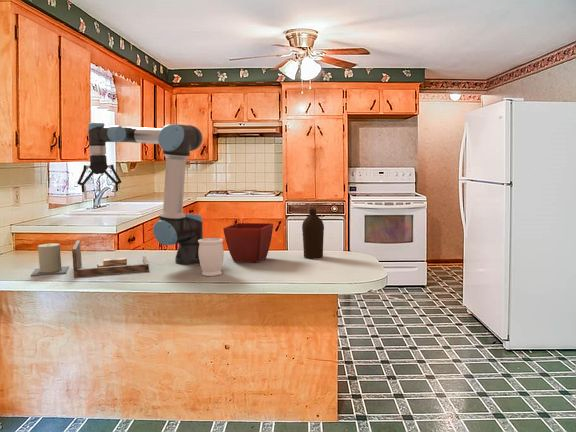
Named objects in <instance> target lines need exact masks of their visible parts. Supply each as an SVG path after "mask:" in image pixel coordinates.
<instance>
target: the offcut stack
mask: <svg viewBox="0 0 576 432" xmlns="http://www.w3.org/2000/svg"><path fill="white" fill-rule="evenodd" d="M102 262H103V263H97V264H96V268H98V267H111V266H124V265H128V258H127V257H117V258H116V257H115V258H104V259H103V261H102Z"/></svg>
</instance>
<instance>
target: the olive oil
mask: <svg viewBox="0 0 576 432" xmlns="http://www.w3.org/2000/svg"><path fill="white" fill-rule="evenodd" d="M308 212H309V214H308V215H307V217H306V218H304V220H303V222H302V224H301V231H302V232H301V233H302V245H303V258H304V259H307V260H308V259H309V260H317V259H322V258H324V234H325V225H324V221H323V220H322V219H321V218H320V216H319V215H318V214H317V206H315V205H314V206H309V211H308Z"/></svg>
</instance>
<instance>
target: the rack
mask: <svg viewBox="0 0 576 432" xmlns="http://www.w3.org/2000/svg"><path fill="white" fill-rule="evenodd" d="M81 247H82V246H81V240H78V239H77V240H76V241H75V243H74V245H73V247H72V249H71V251H72V254H71V255H72V267H73V278H78V277H91V276H103V275H115V274H125V273H128V274H129V273H139V272H149V271H150V268H149V265H150V264H149V261H148V260H147V256H142V262H143V263H138V264H127V265H124V266H111V267H98V268H97V267H88V268H82V250H81V249H82V248H81Z"/></svg>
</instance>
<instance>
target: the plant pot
mask: <svg viewBox="0 0 576 432" xmlns="http://www.w3.org/2000/svg"><path fill="white" fill-rule="evenodd" d="M273 228H274V223H269V222H267V223H264V222H263V223H262V222H261V223H260V222H257V223H256V222H255V223H254V222H238V223H234V224H231V225H228V226H226V227H225V226H224V227H223V234H224V239H225V243H226V245H227V248H228V251H229V254H230V257H231V259H232V261H233V262H234V263H259V262H261V261H263V260H265V259H266V258H267V256H268V253H269V250H270V247H271V246H270V245H271V243H272V242H271V241H272V236H273V231H274V230H273Z"/></svg>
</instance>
